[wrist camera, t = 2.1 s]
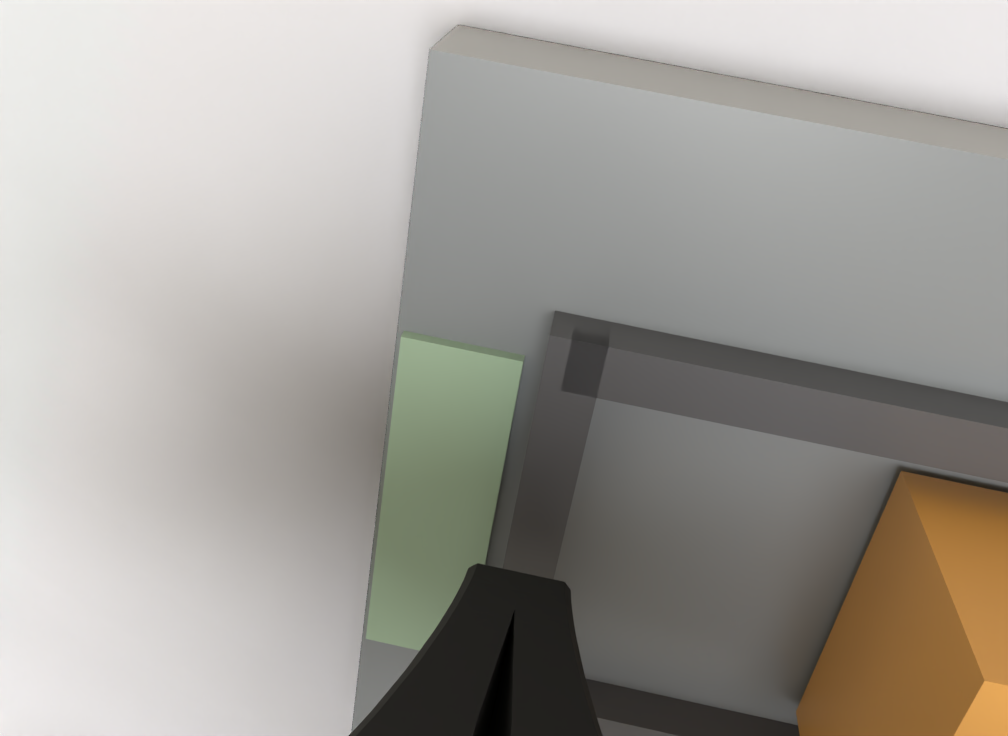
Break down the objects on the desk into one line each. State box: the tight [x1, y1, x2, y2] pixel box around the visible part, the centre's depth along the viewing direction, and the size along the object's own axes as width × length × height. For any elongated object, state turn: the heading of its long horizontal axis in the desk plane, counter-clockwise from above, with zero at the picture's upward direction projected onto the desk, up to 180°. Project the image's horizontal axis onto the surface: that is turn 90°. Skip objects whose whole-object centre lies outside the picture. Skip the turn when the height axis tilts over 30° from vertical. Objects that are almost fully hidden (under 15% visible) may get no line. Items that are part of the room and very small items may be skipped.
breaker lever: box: [796, 471, 1008, 736], centre depth 13 cm, size 3×5×4 cm, turn 171°
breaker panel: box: [351, 25, 1008, 736], centre depth 16 cm, size 18×14×3 cm
